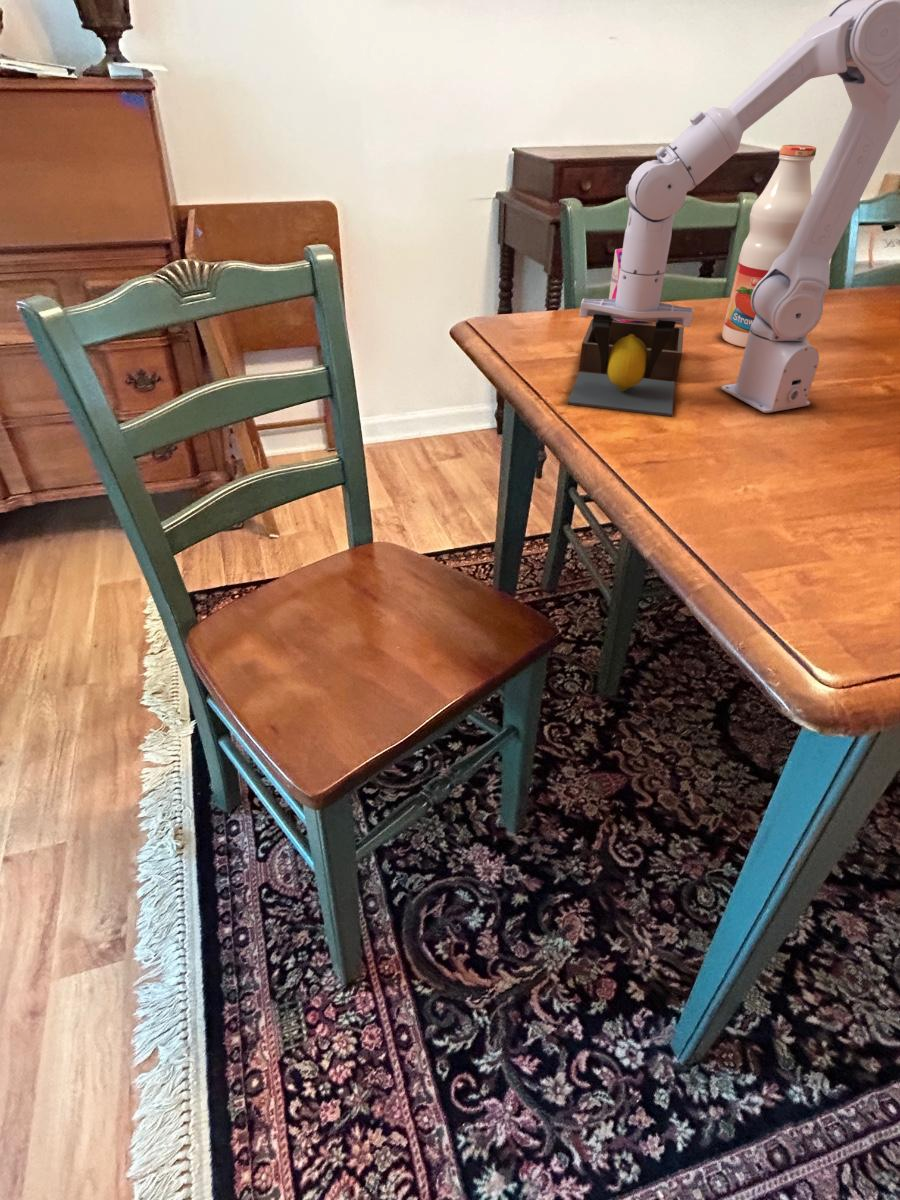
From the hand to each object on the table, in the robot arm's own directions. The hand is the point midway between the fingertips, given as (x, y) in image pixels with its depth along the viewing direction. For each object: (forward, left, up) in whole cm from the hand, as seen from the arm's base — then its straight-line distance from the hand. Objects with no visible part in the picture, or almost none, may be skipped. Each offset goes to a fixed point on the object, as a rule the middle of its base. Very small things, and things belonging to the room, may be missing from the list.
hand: (625, 373), depth 104 cm
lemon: (0, 0, -3) cm, 3 cm away
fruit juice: (+12, -33, -3) cm, 35 cm away
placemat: (0, 0, -3) cm, 3 cm away
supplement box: (+29, -20, -3) cm, 36 cm away
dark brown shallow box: (+10, -8, -3) cm, 14 cm away
